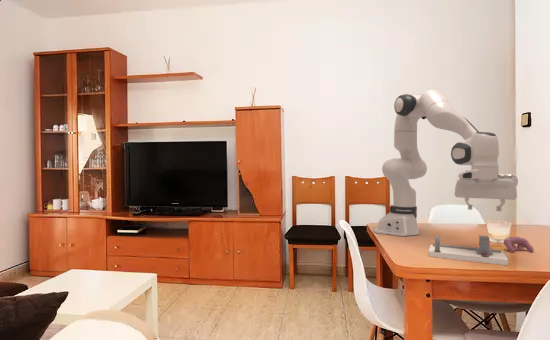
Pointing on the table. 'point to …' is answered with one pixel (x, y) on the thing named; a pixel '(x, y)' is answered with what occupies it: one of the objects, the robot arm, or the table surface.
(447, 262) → the table surface
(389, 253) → the table surface
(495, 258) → the gauge board
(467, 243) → the table surface
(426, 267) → the table surface
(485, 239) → the leg
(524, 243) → the video game controller
